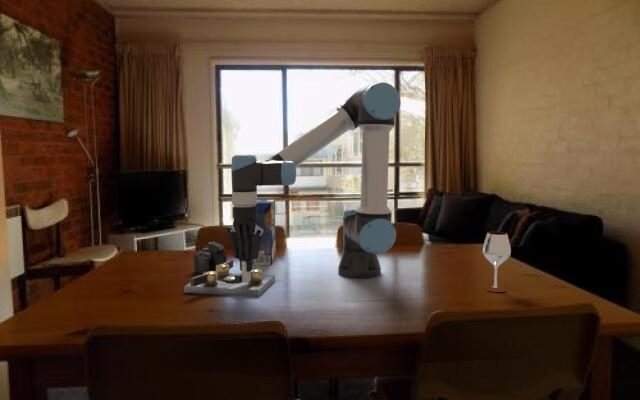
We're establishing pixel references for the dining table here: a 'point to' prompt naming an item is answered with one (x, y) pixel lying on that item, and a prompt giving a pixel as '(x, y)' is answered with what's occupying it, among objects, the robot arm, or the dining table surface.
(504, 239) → the wineglass
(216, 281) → the knob near
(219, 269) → the knob far
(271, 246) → the juice carton
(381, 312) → the dining table surface
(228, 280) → the level plate
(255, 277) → the knob arm
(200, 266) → the camera
